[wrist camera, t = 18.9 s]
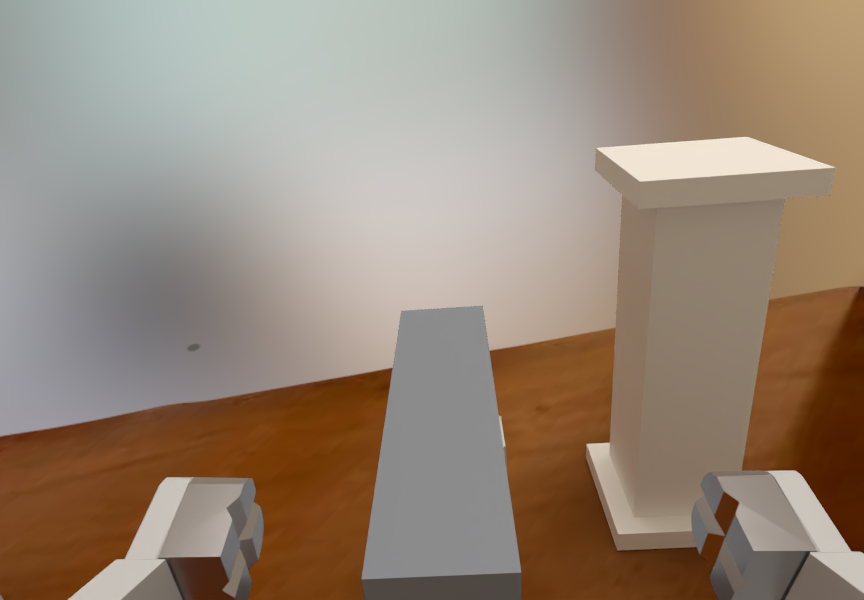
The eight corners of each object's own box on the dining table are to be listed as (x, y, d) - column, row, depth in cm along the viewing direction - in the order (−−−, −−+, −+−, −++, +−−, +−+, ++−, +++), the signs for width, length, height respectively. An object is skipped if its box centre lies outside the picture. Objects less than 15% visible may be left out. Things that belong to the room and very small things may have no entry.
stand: (617, 550, 42) (639, 181, 32) (586, 458, 52) (596, 148, 41) (763, 544, 42) (835, 167, 31) (706, 452, 51) (746, 136, 41)
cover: (369, 623, 20) (361, 579, 19) (404, 339, 38) (401, 311, 37) (522, 617, 20) (521, 572, 19) (484, 334, 38) (482, 305, 37)
